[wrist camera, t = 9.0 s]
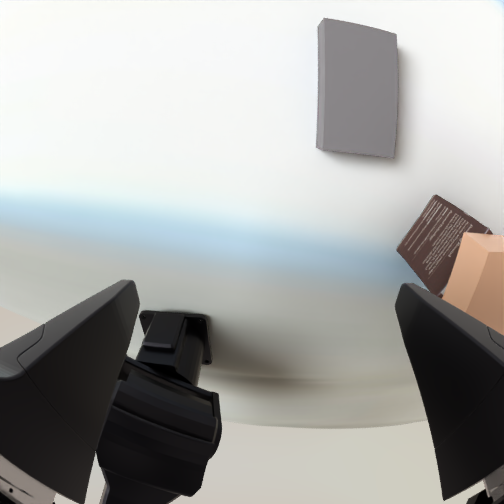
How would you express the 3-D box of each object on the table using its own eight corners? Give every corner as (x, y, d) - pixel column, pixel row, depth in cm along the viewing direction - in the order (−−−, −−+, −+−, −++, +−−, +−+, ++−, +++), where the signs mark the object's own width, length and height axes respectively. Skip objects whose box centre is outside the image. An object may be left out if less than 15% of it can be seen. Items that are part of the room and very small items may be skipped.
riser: (381, 154, 18) (394, 158, 16) (316, 147, 18) (322, 150, 16) (384, 39, 14) (396, 33, 12) (317, 26, 14) (323, 17, 12)
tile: (490, 316, 16) (505, 335, 13) (429, 326, 16) (444, 351, 13) (521, 237, 12) (542, 253, 10) (463, 232, 13) (488, 251, 10)
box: (467, 229, 20) (515, 268, 14) (430, 278, 22) (469, 327, 16) (433, 191, 19) (490, 226, 12) (392, 248, 21) (435, 300, 15)
